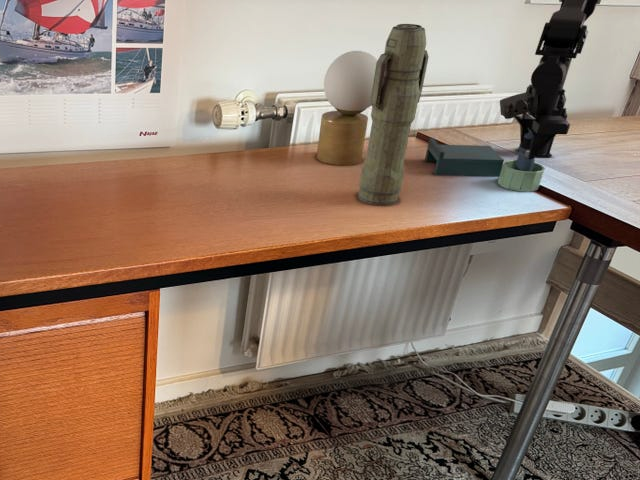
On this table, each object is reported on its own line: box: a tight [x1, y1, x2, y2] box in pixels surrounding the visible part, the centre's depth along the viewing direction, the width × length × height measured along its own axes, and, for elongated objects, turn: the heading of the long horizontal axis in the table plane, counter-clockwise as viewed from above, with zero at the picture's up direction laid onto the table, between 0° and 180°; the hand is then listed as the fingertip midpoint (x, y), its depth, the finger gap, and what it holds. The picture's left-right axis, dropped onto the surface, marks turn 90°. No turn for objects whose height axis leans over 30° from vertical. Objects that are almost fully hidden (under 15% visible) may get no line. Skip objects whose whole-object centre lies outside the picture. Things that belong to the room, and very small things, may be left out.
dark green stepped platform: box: [424, 138, 505, 177], centre depth 169 cm, size 15×11×6 cm
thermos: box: [357, 23, 430, 206], centre depth 145 cm, size 9×12×35 cm
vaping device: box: [515, 131, 536, 172], centre depth 158 cm, size 3×5×12 cm, turn 174°
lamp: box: [316, 50, 378, 166], centre depth 172 cm, size 15×14×25 cm
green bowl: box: [497, 159, 546, 193], centre depth 160 cm, size 9×9×4 cm
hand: (527, 154), depth 157 cm, fingers closed on vaping device, 5 cm apart
